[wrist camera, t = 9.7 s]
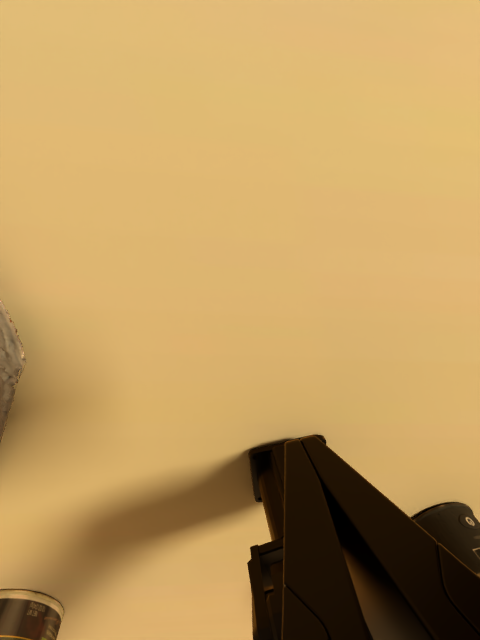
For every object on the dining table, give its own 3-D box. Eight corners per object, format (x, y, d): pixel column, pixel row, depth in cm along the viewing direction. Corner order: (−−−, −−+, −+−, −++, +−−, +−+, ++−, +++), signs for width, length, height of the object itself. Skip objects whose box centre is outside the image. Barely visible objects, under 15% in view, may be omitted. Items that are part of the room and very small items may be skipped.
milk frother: (482, 494, 35) (661, 690, 22) (442, 567, 42) (559, 748, 29) (366, 515, 33) (487, 746, 20) (345, 588, 40) (424, 793, 27)
